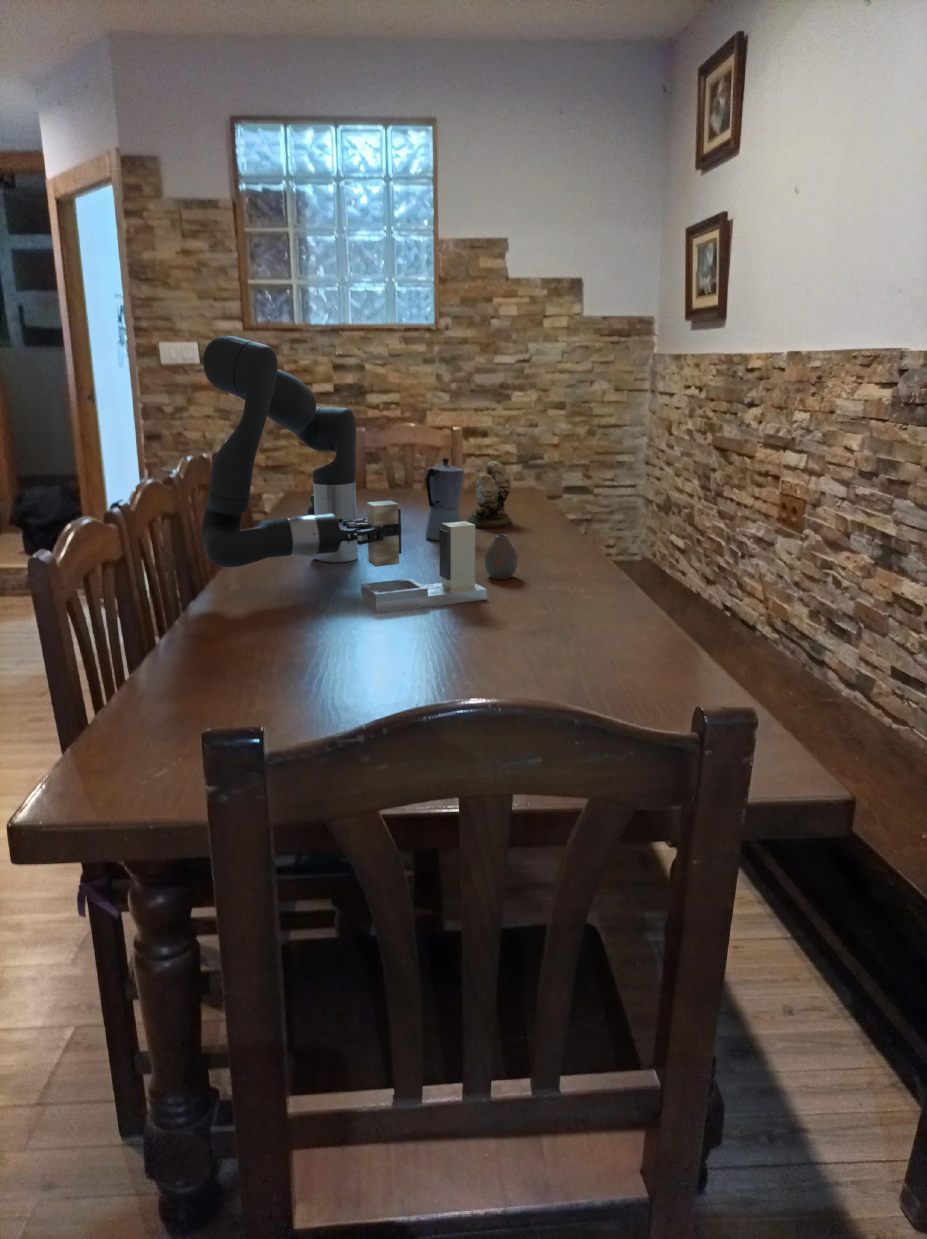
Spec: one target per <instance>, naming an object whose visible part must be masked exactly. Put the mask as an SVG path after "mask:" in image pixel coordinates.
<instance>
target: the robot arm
mask: <svg viewBox="0 0 927 1239" xmlns="http://www.w3.org/2000/svg"><path fill="white" fill-rule="evenodd" d="M202 356H203V357H202V365H203V371H204V374H205V377H206V378H207V381H209V383H210V384H211V385H212V386H213V387H214V388H216V389H217V390H219V391H223V392H226V393H229V394H230V395H231V394H232V395H234V396H236V397H238V398H240V399H242V400H243V401H244V406H243V413H242V416H241V417H240V418H241V419H240V420H239V421H238V424H237V426H236V427H235V429H234V431H233V432H232V434H231V435H230V436H229V437H228V439H226V440H225V441H224V443H223V444H222V446H221V447H220V448H219V450H218V451H217V453H216V454H215V457H214V459H213V462H212V464H211V465H212V466H211V470H210V478H209V480H210V481H209V488H208V489H209V490H208V502H207V505H206V509H205V512H204V515H203V519H202V524H201V531H200V533H201V534H200V539H201V540H200V541H201V544H202V547H203V549H204V551H205V552H206V555H207V556H208V559H209V560H210V561H211V563H213V564H215V565H216V566H219V567H224V568H239V567H241V566H242V567H243V566H246V565H250V564H253V563H256V562H260V561H263V560H264V559H267V558H280V557H289V556H298V557H301V556H302V557H303V556H312V559H315V560H318V561H320V562H326V563H345V562H351V561H356V560H357V559H358V556H359V554H358V552H359V548H358V545H359V546H362V545H368V543H372V542H377V541H382V540H383V537H387V536H397V535H401V536H402V524H401V525H400V524H388V525H371V524H370V523H367V517H362V518H361V517H360V518H359V517H358V518H357V498H356V496H357V494H356V493H357V492H356V490H357V489H356V468H357V463H356V462H357V460H356V459H357V457H356V456H357V455H356V454H357V453H356V452H357V451H356V450H357V449H356V448H357V447H356V445H357V444H356V443H357V425H356V417H355V415H354V412H353V411H352V409H350V408H348V407H337V406H327V407H326V406H324V407H323V406H317V401H316V397H315V395H314V393H313V392H312V390H311V389H310V388H309V387H308V386H307V385H306V384H305V383H304V382H303V381H301V380H300V379H298V378H297V377H296V376H294V375H292V374H291V373H288V372H285V371H284V370H281V369H279V368H278V366H279V364H278V357H277V355H276V352H275V351H274V349H273V348H272V347H270V346H269V345H268V344H264V343H260V342H256V341H252V340H249V339H245V338H241V337H237V336H234V335H221V336H217V337H215V338H214V339H212V340H211V341H210V342H209V343H208V344H207V345H206V347H205V350H204V352H203V355H202ZM267 417H268V418H269V419H270V420H271V421H273V422H275V423H276V424H278V425H279V426H282V427H283V428H285V429H287V430H288V431H290V433H292V434H294V435H295V436H297V437H298V439H300V440H301V441H302V442H303V443H304V444H305V445H306V446H307V447H308V448H310V449H313V450H315V451H323V452H324V451H325V452H329V451H331V452H335V457H334V459H333V460H332V461H331V462H329V463H327V464H324V465H322V466H318V467H316V468H315V469H313V471H312V487H313V494H314V510H315V515H307V514H306V515H305V514H304V515H296V516H291V517H286V518H275V519H266V520H265V519H264V520H261V521H259V522H258V523H257V524H256V525H255V527H250V528H244V529H241V523H242V518H243V517H242V516H243V514H244V513H245V512H246V511H247V509H248V506H249V504H250V503H249V502H250V494H251V488H252V482H253V481H252V480H253V473H254V472H253V470H254V465H255V460H256V457H257V452H258V449H259V444H260V442H261V438H262V435H263V431H264V428H265V425H266V421H267ZM376 531H377V535H374V532H376Z"/></svg>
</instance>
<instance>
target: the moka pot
mask: <svg viewBox="0 0 927 1239" xmlns="http://www.w3.org/2000/svg"><path fill="white" fill-rule="evenodd" d="M449 461H450V458H448V457H444V458H442V464H441V465H435V466H434V465H433V466H432V467H427V468H426V476H425V485H426V486H425V487H426V493H427V498H428V505H429V512H428V517H427V524H426V529H425V534H424V535H425V538H426V539H430V540H434V541H439V529H442V523H452V522H460V514H459V513H460V511H459V509H458V508H459V501H460V499H461V493H462V485H463V479H464V474H465V470H464V469H463V468H460V467H457V466H454V465H449Z"/></svg>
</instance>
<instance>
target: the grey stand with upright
mask: <svg viewBox="0 0 927 1239" xmlns="http://www.w3.org/2000/svg"><path fill="white" fill-rule="evenodd" d="M438 541H439V542H438V543H439V545H438V546H439V577H441V582H436V583H428V584H422V583H419V582H418V581H416V580H415V579H413V578H403V579H395V580H385V581H377V582H368V583H361V584H360V589H361V591H360V592H361V593H360V594H361V595H360V596H361V603H362V604H363V605H365V606H366V607H367V608H368V609H370V610H371V611H373V612H374V613H375V614H382V612H383V613H390V612H391V613H392V612H398V611H404V610H405V611H406V610H414V609H421V608H429V607H430V608H431V607H439V606H444V605H453V604H461V603H469V602H478V601H484V600H487V598H488V594H487V592H488V590H487V588H485V587H483V586H482V585H479V584H477V582H476V528H475V525H474V524H472V523H469V522H467V520H465V521H459V522H452V523H442V529H439V540H438Z"/></svg>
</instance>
